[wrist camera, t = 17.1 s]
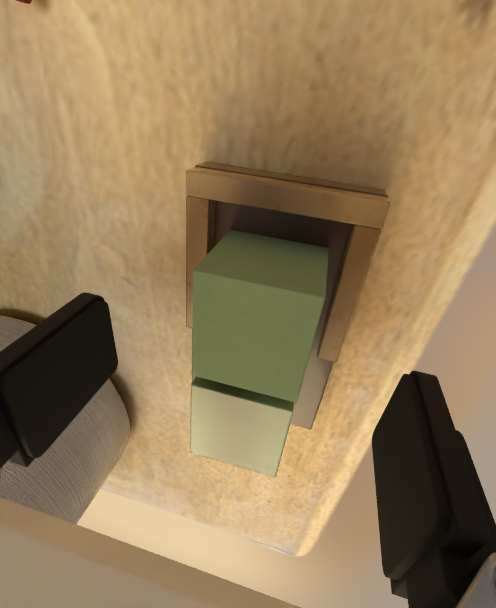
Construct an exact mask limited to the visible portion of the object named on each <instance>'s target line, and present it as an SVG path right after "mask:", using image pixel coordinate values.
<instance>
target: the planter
mask: <svg viewBox="0 0 496 608" xmlns="http://www.w3.org/2000/svg"><path fill="white" fill-rule="evenodd" d="M35 326H36V325H35V324H33V323H30V322H27V321H23V320H19V319H15V318H10V317H5V316H0V351H2V350H3V349H4V348H6V347H7V346H9V345H10V344H11V343H13V342H14V341H15V340H17V339H18V338H20V337H21V336H22V335H24V334H25V333H27V332H28V331H29V330H31V329H32V328H34V327H35ZM129 436H130V423H129V419H128V415H127V411H126V408H125V405H124V403H123V401H122V399H121V397H120V395H119V393H118V392H117V390H116V388H115V386H114V385H113V383H112V381H111V380H110V378H109V379H108V380H107V381H106V382H105V384H104V385H103V386H102V387H101V388H100V389H99V391H98V392H97V393H96V394H95V395H94V396H93V397H92V399H91V400H90V401H89V402H88V403H87V404H86V406H85V407H84V408H83V409H82V410H81V411H80V413H79V414H78V415H77V416H76V417H75V418H74V420H73V421H72V422H71V423H70V424H69V425H68V427H67V428H66V429H65V430H64V431H63V432H62V433H61V435H60V436H59V437H58V438H57V439H56V440H55V442H54V443H53V444H52V445H51V446H50V447H49V449H48V450H47V451H46V452H45V453H44V454H43V455H42V456H41V457H39V458H35V459H34V460H33V462H32V463H31V464H30V465H29V466H28V467H27V468H26V467H24V466H21V465H18V464H15V463H12V462H11V461H10V459H9V460H8V461H7V462H6V463H5V465H4V466H3V467H2V474H1V481H0V497H1V498H4V499H7V500H9V501H12V502H15V503H18V504H21V505H23V506H26V507H29V508H32V509H34V510H37V511H40V512H43V513H45V514H48V515H51V516H54V517H56V518H59V519H62V520H65V521H68V522H70V523H73V524H77V522H78V521H79V519H80V518H81V516H82V515H83V513H84V512H85V510H86V509H87V507H88V506H89V504H90V503H91V501H92V500H93V498H94V497H95V495H96V494H97V492H98V491H99V489H100V488H101V486H102V485H103V483H104V482H105V480H106V478H107V477H108V475H109V474H110V472H111V471H112V469H113V468H114V466H115V465H116V463H117V462H118V460H119V458H120V457H121V455H122V453H123V451H124V449H125V447H126V445H127V443H128V440H129Z"/></svg>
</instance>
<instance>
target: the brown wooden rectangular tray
mask: <svg viewBox="0 0 496 608" xmlns="http://www.w3.org/2000/svg"><path fill="white" fill-rule="evenodd" d="M186 195H187V196H186V327H189V328H192V316H193V269H194V268H195V267H196V266H197V265H198V264H199V263H200V262H201V261H202V260H203V259H204V257H205V256H206V255H207V254H208V253H209V252H210V251H211V250H212V249H213V248H214V247H215V246H216V245H217V244H218V243H219V241H220V240H221V239H222V238H223V237H224V236H225V235H226V234H227V233H228V232H229V231H230V230H235V231H240V232H246V233H251V234H257V235H262V236H267V237H273V238H278V239H284V240H289V241H294V242H300V243H305V244H311V245H316V246H321V247H327V248H329V254H328V268H327V282H326V295H325V301H324V304H323V308H322V312H321V315H320V319H319V323H318V326H317V330H316V334H315V337H314V341H313V345H312V348H311V352H310V356H309V359H308V363H307V367H306V370H305V374H304V378H303V381H302V385H301V389H300V392H299V396H298V400H297V402H292V401H288V400H284V399H281V398H277V397H273V396H269V395H265V394H262V393H258V392H254V391H250V390H246V389H242V388H239V387H235V386H231V385H227V384H223V383H219V382H216V381H212V380H208V379H204V378H200V377H197V376H193V375H192V384H191V442H190V452H191V453H194V454H197V455H201V456H204V457H207V458H211V459H214V460H217V461H221V462H224V463H227V464H231V465H234V466H237V467H240V468H244V469H247V470H250V471H254V472H257V473H260V474H264V475H267V476H270V477H274V478H275V477H276V474H277V471H278V467H279V463H280V460H281V456H282V452H283V448H284V445H285V441H286V437H287V434H288V430H289V426H290V424H292V425H296V426H300V427H303V428H307V429H312V426H313V423H314V420H315V417H316V414H317V411H318V408H319V405H320V402H321V399H322V396H323V393H324V390H325V387H326V384H327V381H328V378H329V375H330V372H331V369H332V366H333V363H334V362H336V361H337V360H338V357H339V354H340V351H341V348H342V345H343V342H344V339H345V336H346V333H347V330H348V327H349V324H350V321H351V318H352V315H353V312H354V309H355V306H356V304H357V301H358V298H359V295H360V292H361V289H362V286H363V283H364V280H365V277H366V274H367V271H368V268H369V265H370V262H371V259H372V256H373V253H374V250H375V247H376V244H377V241H378V238H379V235H380V233H381V229H382V227H383V224H384V221H385V218H386V215H387V212H388V209H389V207H390V201H389V200H388V195H387V193H386V192H385V190H383V189H377V188H370V187H364V186H357V185H351V184H344V183H338V182H331V181H325V180H318V179H312V178H305V177H299V176H292V175H286V174H279V173H273V172H266V171H260V170H253V169H247V168H240V167H234V166H227V165H221V164H214V163H208V162H204V163H201V164H199V165H196V166H195V167H194V168H192V169H189V170H187V171H186Z"/></svg>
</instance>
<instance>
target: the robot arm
mask: <svg viewBox="0 0 496 608" xmlns="http://www.w3.org/2000/svg"><path fill="white" fill-rule="evenodd" d="M117 365H118V359H117V353H116V347H115V342H114V336H113V330H112V324H111V318H110V313H109V307H108V304H107V302H105V300H104V298H103V297H101V296H98V295H94V294H90V293H82V294H80V295H78V296H77V297H76V298H74V299H73V300H71V301H70V302H69V303H67V304H66V305H64V306H63V307H62V308H60V309H59V310H57V311H56V312H55V313H53V314H52V315H50V316H49V317H48V318H46V319H45V320H43V321H42V322H41V323H39V324H38V325H36V326H35V327H34V328H32V329H31V330H29V331H28V332H27V333H25V334H24V335H22V336H21V337H20V338H18V339H17V340H15V341H14V342H13V343H11V344H10V345H9V346H7V347H6V348H4V349H3V350H2V351H0V481H1V474H2V467H3V466H4V465H5V463H6V462H7V461H8V460H9V459H10V461H11V462H12V463H15V464H18V465H21V466H24V467H26V468H27V467H28V466H29V465H30V464H31V463H32V462H33V460H34V459H35V458H39V457H41V456H42V455H43V454H44V453H45V452H46V451H47V450H48V449H49V447H50V446H51V445H52V444H53V443H54V442H55V440H56V439H57V438H58V437H59V436H60V435H61V433H62V432H63V431H64V430H65V429H66V428H67V427H68V425H69V424H70V423H71V422H72V421H73V420H74V418H75V417H76V416H77V415H78V414H79V413H80V411H81V410H82V409H83V408H84V407H85V406H86V404H87V403H88V402H89V401H90V400H91V399H92V397H93V396H94V395H95V394H96V393H97V392H98V391H99V389H100V388H101V387H102V386H103V385H104V384H105V382H106V381H107V380H108V379H109V378H110V377H111V375H112V374H113V373H114V372H115V370H116V368H117ZM372 448H373V461H374V473H375V484H376V496H377V508H378V520H379V532H380V543H381V555H382V566H383V571H384V575H385V576H386V577H388V578H390V580H391V590H392V594H394V595H397V596H400V597H403V598H406V599H408V604H409V608H496V524H495V521H494V519H493V516H492V513H491V510H490V508H489V505H488V502H487V499H486V497H485V494H484V491H483V488H482V486H481V483H480V480H479V477H478V475H477V472H476V469H475V466H474V464H473V461H472V458H471V455H470V453H469V450H468V447H467V444H466V442H465V440H464V437H463V436H462V434H461V433H460V432H459V431H457V430H455V427H454V424H453V422H452V419H451V416H450V413H449V410H448V407H447V404H446V401H445V398H444V396H443V393H442V390H441V387H440V384H439V381H438V379H437V377H436V376H435V375H431V374H426V373H422V372H418V371H412V372H411V373H410V374H409V375H408V374H404V375H403V376H402V377H401V379H400V381H399V383H398V385H397V387H396V389H395V391H394V393H393V395H392V397H391V399H390V401H389V403H388V405H387V407H386V409H385V410H384V412H383V414H382V416H381V418H380V420H379V422H378V424H377V426H376V428H375V430H374V432H373V437H372ZM0 608H300V607H297V606H294V605H292V604H289V603H286V602H284V601H281V600H279V599H276V598H273V597H271V596H268V595H265V594H263V593H260V592H257V591H254V590H252V589H249V588H246V587H243V586H241V585H238V584H236V583H233V582H230V581H228V580H225V579H222V578H219V577H217V576H214V575H212V574H209V573H206V572H203V571H201V570H198V569H196V568H193V567H190V566H187V565H185V564H182V563H179V562H177V561H174V560H171V559H168V558H166V557H163V556H160V555H158V554H155V553H152V552H149V551H147V550H144V549H141V548H139V547H136V546H133V545H130V544H128V543H125V542H122V541H119V540H117V539H114V538H111V537H109V536H106V535H103V534H100V533H98V532H95V531H92V530H89V529H87V528H84V527H81V526H78V525H76V524H73V523H70V522H68V521H65V520H62V519H59V518H56V517H54V516H51V515H48V514H45V513H43V512H40V511H37V510H34V509H32V508H29V507H26V506H23V505H21V504H18V503H15V502H12V501H9V500H7V499H4V498H1V497H0Z"/></svg>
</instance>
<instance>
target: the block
mask: <svg viewBox="0 0 496 608" xmlns="http://www.w3.org/2000/svg"><path fill="white" fill-rule="evenodd" d="M328 254H329V248H327V247H321V246H316V245H311V244H305V243H300V242H294V241H289V240H284V239H278V238H273V237H267V236H262V235H257V234H251V233H246V232H240V231H235V230H230V231H229V232H228V233H227V234H226V235H225V236H224V237H223V238H222V239H221V240H220V241H219V243H218V244H217V245H216V246H215V247H214V248H213V249H212V250H211V251H210V252H209V253H208V254H207V255H206V256H205V257H204V259H203V260H202V261H201V262H200V263H199V264H198V265H197V266H196V267H195V268H194V269H193V316H192V375H193V376H197V377H200V378H204V379H208V380H212V381H216V382H219V383H223V384H227V385H231V386H235V387H239V388H242V389H246V390H250V391H254V392H258V393H262V394H265V395H269V396H273V397H277V398H281V399H284V400H288V401H292V402H297V400H298V396H299V392H300V389H301V385H302V381H303V378H304V374H305V370H306V367H307V363H308V359H309V356H310V352H311V348H312V345H313V341H314V337H315V334H316V330H317V326H318V323H319V319H320V315H321V312H322V308H323V304H324V301H325V295H326V282H327V268H328Z"/></svg>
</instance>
